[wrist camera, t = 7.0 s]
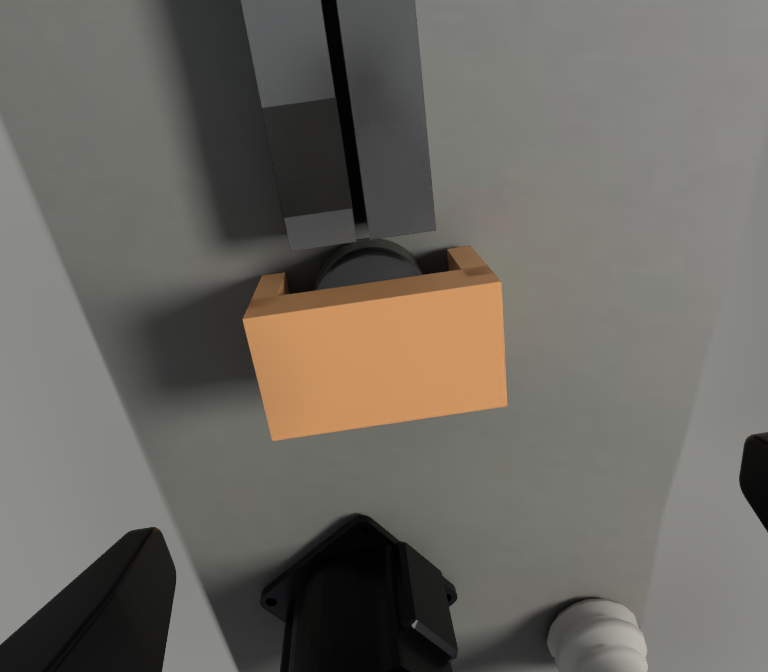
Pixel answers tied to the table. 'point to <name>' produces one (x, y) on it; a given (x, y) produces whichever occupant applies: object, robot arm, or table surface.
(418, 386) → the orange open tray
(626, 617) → the rook chess piece
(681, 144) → the table surface
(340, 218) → the arm
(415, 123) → the tongs fixed
